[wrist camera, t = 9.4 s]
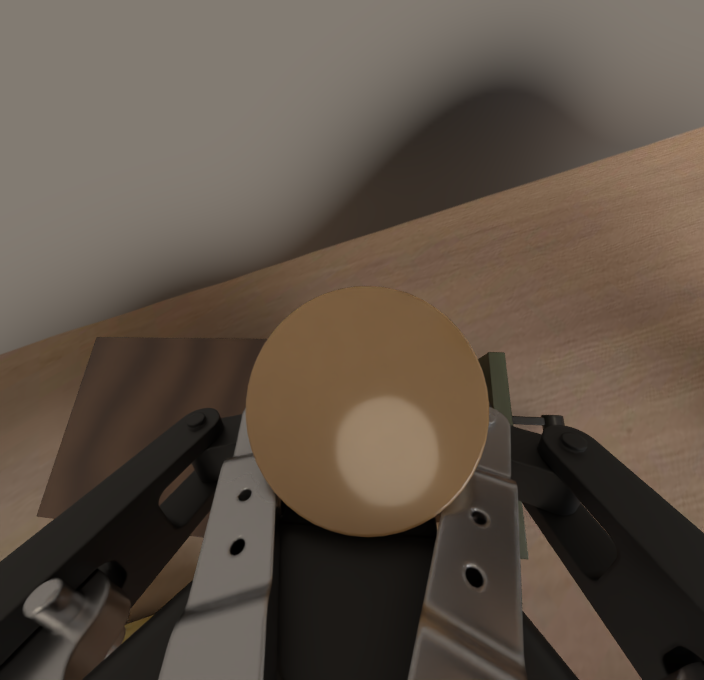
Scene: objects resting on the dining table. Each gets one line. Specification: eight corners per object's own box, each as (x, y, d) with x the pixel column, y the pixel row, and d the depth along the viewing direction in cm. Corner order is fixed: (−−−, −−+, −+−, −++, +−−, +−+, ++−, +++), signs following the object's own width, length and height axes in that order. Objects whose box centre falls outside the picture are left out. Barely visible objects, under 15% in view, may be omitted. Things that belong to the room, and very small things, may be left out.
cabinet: (323, 360, 30) (299, 339, 22) (311, 506, 26) (276, 547, 18) (169, 357, 33) (96, 336, 24) (136, 488, 29) (35, 516, 20)
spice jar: (418, 363, 15) (467, 273, 6) (429, 456, 14) (517, 540, 4) (334, 369, 16) (252, 295, 6) (336, 459, 14) (233, 537, 5)
